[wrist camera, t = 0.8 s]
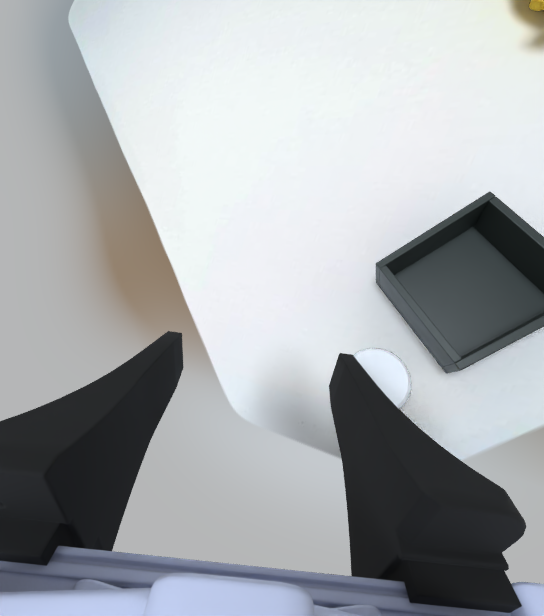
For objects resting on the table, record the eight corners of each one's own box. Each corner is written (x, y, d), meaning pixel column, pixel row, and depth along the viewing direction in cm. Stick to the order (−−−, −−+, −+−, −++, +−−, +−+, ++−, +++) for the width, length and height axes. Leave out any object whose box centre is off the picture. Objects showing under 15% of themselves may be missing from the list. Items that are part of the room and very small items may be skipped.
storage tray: (565, 309, 22) (609, 291, 18) (446, 373, 24) (460, 370, 20) (472, 221, 26) (490, 190, 22) (375, 281, 28) (375, 263, 24)
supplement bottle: (373, 421, 25) (371, 436, 17) (337, 377, 27) (322, 374, 19) (416, 387, 24) (434, 387, 17) (377, 345, 26) (377, 328, 19)
